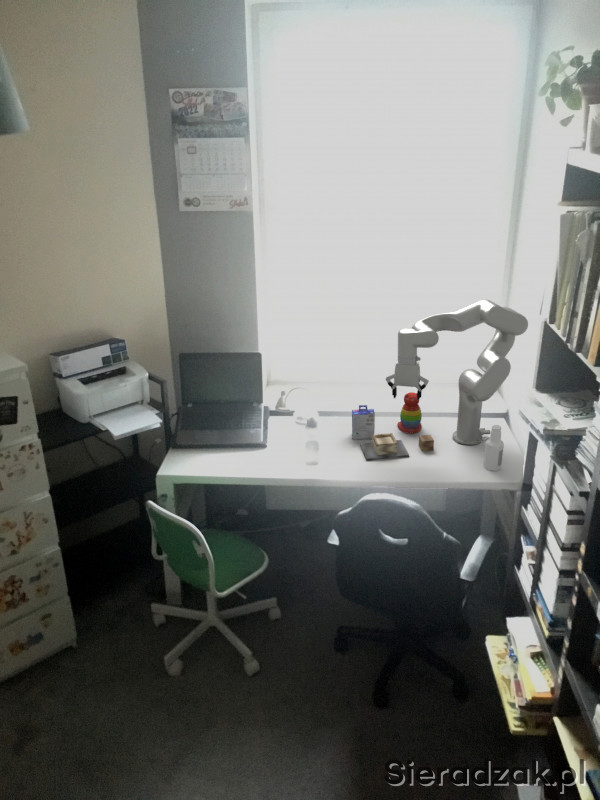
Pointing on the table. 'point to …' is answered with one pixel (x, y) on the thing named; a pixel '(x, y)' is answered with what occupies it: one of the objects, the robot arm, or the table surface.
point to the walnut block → (426, 443)
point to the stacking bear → (410, 414)
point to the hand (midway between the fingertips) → (406, 397)
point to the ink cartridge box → (363, 423)
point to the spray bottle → (494, 450)
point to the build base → (387, 456)
